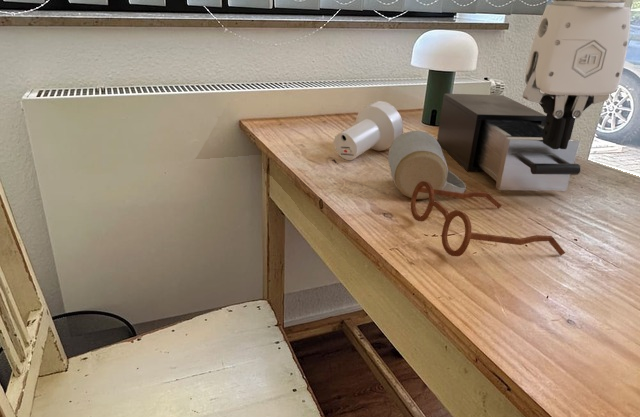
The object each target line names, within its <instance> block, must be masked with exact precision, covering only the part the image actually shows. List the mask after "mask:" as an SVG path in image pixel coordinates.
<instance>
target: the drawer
mask: <svg viewBox="0 0 640 417" xmlns="http://www.w3.org/2000/svg"><path fill="white" fill-rule="evenodd" d="M543 129H544V126H542V125H541V124H539V123H537V122H535V121H519V120H482V121H481V126H480V131H479V137H478V142H477V148H476V153H475V159H474V162H475V163H476V164H477V165H478V166H479V167H480V168H482V169H483V170H484V171H485V172H484V173H486V174H487V175H488V176H489V177H491V179H493V180H494V181H495V182H496V183H495V188H496V189H497V190H498V191H539V192H540V191H543V192H544V191H547V192H549V191H550V192H551V191H553V192H555V191H556V192H557V191H558V192H561V191H563V192H565V191H567V190H568V186H569V181H570V178H571V175H572V176H577V175H579V174H580V173H581V165H580V164H579V163H574V160H575V161H576V159H575V157H576V158H577V156H576V153H577V154H578V152H577V149H578V146H579V147H580V145H579V142H580V143H581V141H580V140H579V139H577V138H576V137H573V138H570V140H569V141H568V146H567V148H566V149H560V148H559V149H552V148H550V147H549V146H547V145H545V144H544V143H543V138H542V134H543ZM578 150H579V149H578Z"/></svg>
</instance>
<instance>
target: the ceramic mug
mask: <svg viewBox="0 0 640 417" xmlns="http://www.w3.org/2000/svg"><path fill="white" fill-rule="evenodd" d="M387 158H388V159H387V160H388V161H387V162H388V165H389V169H390V174H391V178H392V181H393V183H394V186H395V187H396V189H397V190H398V191H399V192H400V193H401V194H402V195H403V196H405V197H407V198H409V199H412V195H413V192H414V189H415V187H416V186H417V184H418V183H419V182H421V181H425V182H428V183H430V184H431V185H432V187H433V189H438V190H445V191H451V192H457V193H465V191H466V190H467V186H466V183H465V182H464V181H463V180H462V179H461V178H460V177H459V176H458V175H456V174H455V173H454V172H452V171H451V170H450V169H449V168H448V163H447V160H446V158H445V156H444V153H443V148H442V147H441V146H440V144H439V143H438V141H437V138H435V137H434V136H433V135H432V134H430V133H428V132H426V131H422V130H409V131H406V132H403V134H402V135H400V136H399V137H398V138H397V139H396V140H395V141H394V142H393V144H392V145H391V147H389V150H388V156H387ZM423 187H425V186H423ZM425 188H426V187H425ZM434 195H435V194H434ZM435 196H436V195H435ZM426 199H429V194H428V193H422V192H418V195H417V198H416V200H426Z"/></svg>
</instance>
